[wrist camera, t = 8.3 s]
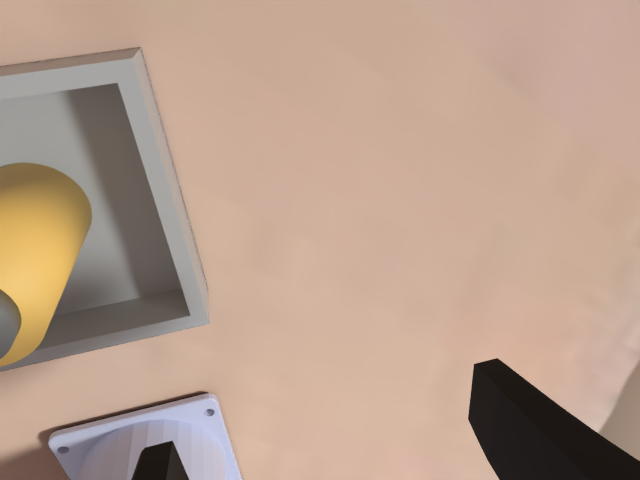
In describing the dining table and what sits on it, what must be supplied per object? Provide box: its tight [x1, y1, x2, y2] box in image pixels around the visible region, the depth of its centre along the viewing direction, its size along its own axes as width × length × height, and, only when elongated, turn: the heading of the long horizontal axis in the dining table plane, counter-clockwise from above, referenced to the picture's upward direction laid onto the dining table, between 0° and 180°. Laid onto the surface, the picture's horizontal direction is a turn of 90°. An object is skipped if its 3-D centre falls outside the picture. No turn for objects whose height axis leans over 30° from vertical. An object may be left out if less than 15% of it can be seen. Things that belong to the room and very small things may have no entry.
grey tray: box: [0, 47, 210, 372], centre depth 16 cm, size 10×10×2 cm
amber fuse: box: [0, 163, 92, 367], centre depth 14 cm, size 4×4×7 cm
